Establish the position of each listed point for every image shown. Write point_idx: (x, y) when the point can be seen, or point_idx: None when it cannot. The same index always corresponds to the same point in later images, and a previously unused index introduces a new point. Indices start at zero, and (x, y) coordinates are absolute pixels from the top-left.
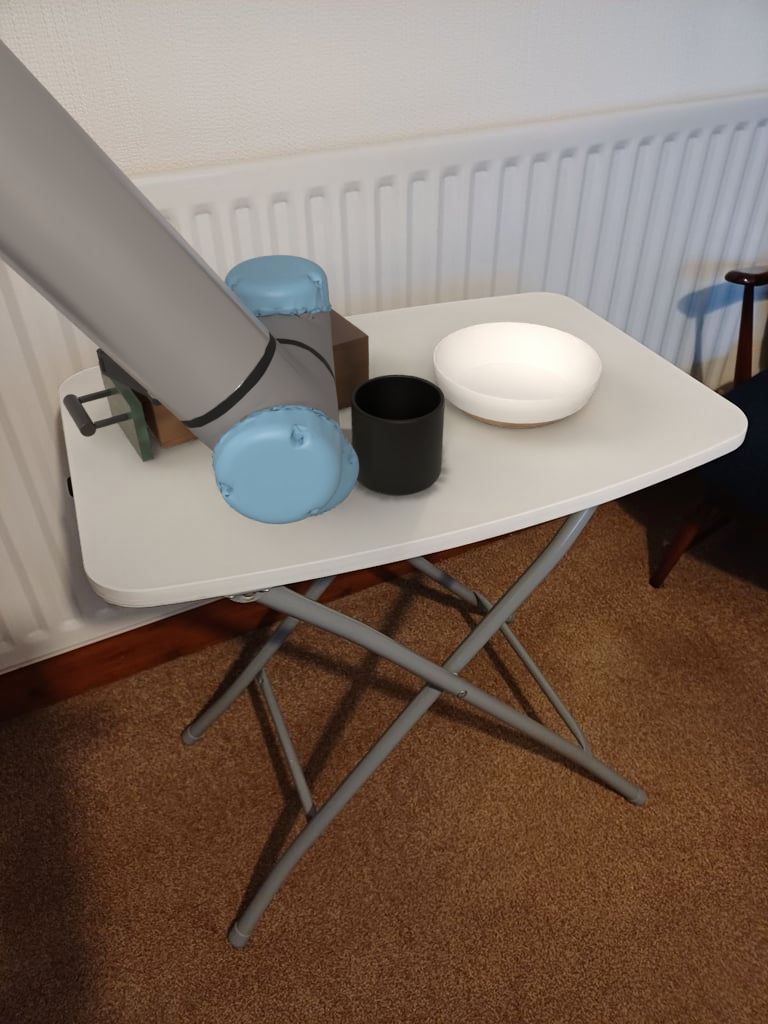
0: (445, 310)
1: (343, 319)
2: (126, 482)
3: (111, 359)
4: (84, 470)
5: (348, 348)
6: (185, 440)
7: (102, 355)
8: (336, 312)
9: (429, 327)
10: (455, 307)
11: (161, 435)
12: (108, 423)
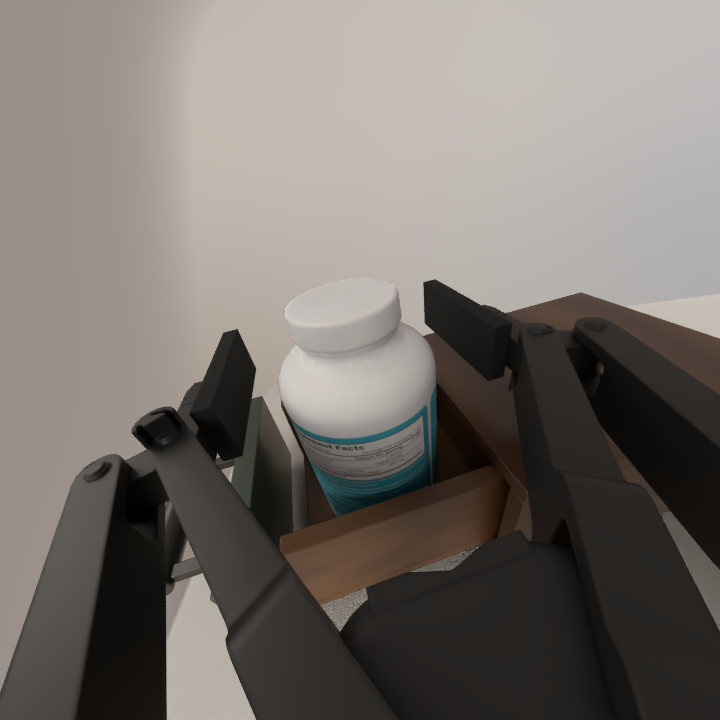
0: (695, 305)
1: (687, 330)
2: (228, 706)
3: (51, 554)
4: (187, 608)
5: None
6: (365, 587)
7: (67, 506)
8: (650, 316)
9: (696, 328)
10: (707, 301)
11: (313, 593)
12: (201, 570)
